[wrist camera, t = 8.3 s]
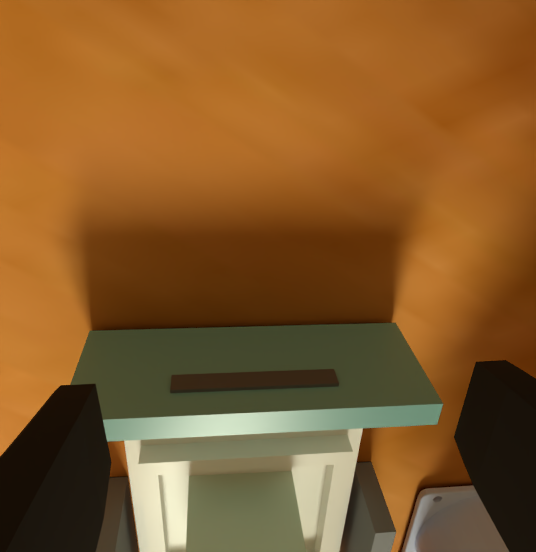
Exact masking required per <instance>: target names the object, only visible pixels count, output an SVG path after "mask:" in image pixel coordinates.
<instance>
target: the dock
mask: <svg viewBox="0 0 536 552" xmlns="http://www.w3.org/2000/svg"><path fill="white" fill-rule="evenodd" d="M395 534H396V530H395V527H394V524H393V521H392V519H391V516H390V513H389V510H388V507H387V505H386V502H385V499H384V496H383V493H382V491H381V488H380V485H379V482H378V479H377V477H376V474H375V471H374V468H373V465H372V463H371V462H361V463H356V467H355V472H354V478H353V483H352V488H351V493H350V498H349V504H348V509H347V514H346V519H345V524H344V530H343V535H342V540H341V545H340V550H339V552H391V549H392V545H393V542H394V538H395ZM96 552H138V546H137V539H136V532H135V525H134V518H133V511H132V504H131V496H130V489H129V482H128V477H113V478H109V484H108V492H107V499H106V506H105V513H104V520H103V524H102V528H101V532H100V536H99V540H98V545H97V549H96Z"/></svg>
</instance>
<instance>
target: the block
mask: <svg viewBox="0 0 536 552" xmlns="http://www.w3.org/2000/svg"><path fill="white" fill-rule="evenodd" d="M186 552H306V548H305V542H304V537H303V531H302V525H301V520H300V514H299V509H298V503H297V498H296V492H295V487H294V481H293V475H292V471H279V472H258V473H237V474H217V475H196V476H189V485H188V510H187V535H186Z"/></svg>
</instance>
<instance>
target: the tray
mask: <svg viewBox="0 0 536 552" xmlns="http://www.w3.org/2000/svg"><path fill="white" fill-rule="evenodd" d="M79 384H96V388H97V393H98V398H99V403H100V408H101V413H102V418H103V423H104V428H105V433H106V438H107V442H109V441H124V443H125V450H126V457H127V464H128V471H129V479H130V486H131V493H132V500H133V507H134V514H135V521H136V529H137V536H138V543H139V550H140V552H186V535H187V510H188V485H189V476H196V475H217V474H237V473H258V472H279V471H292V475H293V481H294V487H295V492H296V498H297V503H298V509H299V514H300V520H301V525H302V531H303V537H304V542H305V548H306V552H339V550H340V545H341V540H342V535H343V530H344V524H345V519H346V514H347V509H348V504H349V498H350V493H351V488H352V483H353V478H354V472H355V467H356V462H357V457H358V452H359V446H360V441H361V436H362V431H363V428H379V427H398V426H417V425H436V424H437V423H438V420H439V416H440V413H441V410H442V406H443V403H442V401H441V399H440V398H439V396H438V394H437V392H436V391H435V389H434V387H433V386H432V384H431V382H430V381H429V379H428V377H427V375H426V374H425V372H424V370H423V369H422V367H421V365H420V364H419V362H418V360H417V358H416V357H415V355H414V353H413V352H412V350H411V348H410V347H409V345H408V343H407V341H406V340H405V338H404V336H403V335H402V333H401V331H400V330H399V328H398V326H397V324H396V323H365V324H327V325H289V326H251V327H213V328H175V329H137V330H99V331H90V332H89V334H88V337H87V340H86V343H85V345H84V348H83V351H82V354H81V357H80V359H79V362H78V365H77V368H76V371H75V373H74V376H73V379H72V382H71V384H70V385H79Z"/></svg>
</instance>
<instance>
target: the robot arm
mask: <svg viewBox="0 0 536 552" xmlns="http://www.w3.org/2000/svg"><path fill="white" fill-rule="evenodd" d="M454 438H455V441H456V443H457V446H458V449H459V451H460V454H461V456H462V459H463V462H464V464H465V467H466V469H467V472H468V474H469V476H470V479H471V481H472V483H473V485H471V486H456V487H441V488H427V489H424V490H422V491H421V492H420V493H419V495H418V498H417V501H416V504H415V508H414V511H413V515H412V518H411V521H410V525H409V528H408V532H407V535H406V538H405V542H404V545H403V548H402V552H536V379H535V378H534V377H532V376H530V375H529V374H527V373H526V372H524V371H523V370H521V369H519V368H518V367H516V366H514V365H513V364H511V363H509V362H508V361H506V360H502V361H484V362H476V364H475V367H474V370H473V374H472V377H471V381H470V384H469V387H468V391H467V394H466V398H465V401H464V405H463V408H462V411H461V415H460V418H459V422H458V425H457V428H456V432H455V435H454ZM110 468H111V458H110V453H109V448H108V443H107V438H106V433H105V428H104V423H103V418H102V413H101V408H100V403H99V398H98V393H97V388H96V384H79V385H61V386H60V387H59V388H58V389H57V390H56V391H55V392H54V393H53V394H52V395H51V396H50V398H49V399H48V400H47V401H46V403H45V404H44V405H43V406H42V407H41V409H40V410H39V411H38V412H37V414H36V415H35V416H34V417H33V418H32V420H31V421H30V422H29V423H28V424H27V426H26V427H25V428H24V429H23V430H22V432H21V433H20V434H19V435H18V436H17V438H16V439H15V440H14V441H13V442H12V444H11V445H10V446H9V447H8V448H7V450H6V451H5V452H4V453H3V454H2V455H1V456H0V552H96V549H97V545H98V540H99V536H100V532H101V528H102V524H103V520H104V513H105V506H106V499H107V492H108V484H109V476H110Z"/></svg>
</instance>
